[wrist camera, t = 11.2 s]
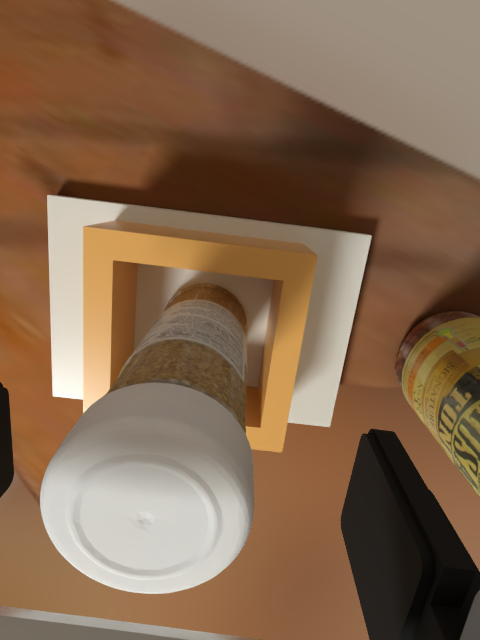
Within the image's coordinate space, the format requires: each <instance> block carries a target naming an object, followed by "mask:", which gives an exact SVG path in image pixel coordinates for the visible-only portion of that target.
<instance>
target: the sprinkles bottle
mask: <svg viewBox="0 0 480 640" xmlns="http://www.w3.org/2000/svg"><path fill="white" fill-rule="evenodd" d="M246 334H247V318H246V314H245V311H244V309H243V307H242V305H241V304H240V302H239V300H238V299H237V297H236V296H234V295H233V294H231V293H230V292H229V291H228V290H226V289H224V288H222V287H220V286H218V285H213V284H209V283H203V284H194V285H191V286H188V287H185V288H184V289H182V290H180V291H179V292H177V293H176V294H175V295H174V296H173V297H172V299H171V300H170V301H169V302H168V304H167V306H166V307H165V310H164V312H163V313H162V314H161V315H160V317H159V318H158V319H157V320H156V322H155V323H154V324H153V326H152V327H151V328H150V330H149V331H148V333H147V334H146V336H145V337H144V338H143V340H142V341H141V343H140V344H139V345H138V347H137V348H136V349H135V351H134V352H133V353H132V355H131V356H130V358H129V359H128V360H127V362H126V363H125V365H124V366H123V368H122V370H121V372H120V374H119V376H118V378H117V379H116V381H115V382H114V384H113V385H112V387H111V388H110V389H109V391H108V392H107V394H105V395H104V396H103V397H101V398H100V399H99V400H97V401H96V402H95V403H93V404H92V405H91V406H90V407H89V408H88V409H87V410H86V411H85V412H84V413H83V414H82V416H81V417H80V419H79V420H78V421H77V423H76V424H75V425H74V427H73V428H72V429H71V431H70V432H69V434H68V435H67V436H66V438H65V439H64V441H63V442H62V444H61V445H60V447H59V448H58V450H57V451H56V453H55V454H54V456H53V457H52V459H51V461H50V463H49V465H48V467H47V469H46V472H45V475H44V478H43V481H42V486H41V493H40V507H41V513H42V518H43V522H44V525H45V528H46V530H47V532H48V535H49V537H50V539H51V540H52V542H53V543H54V545H55V547H56V548H57V550H58V551H59V552H60V553H61V554H62V556H63V557H64V558H66V560H67V561H68V562H70V563H71V564H72V565H73V566H74V567H75V568H77V569H78V570H79V571H81V572H82V573H84V574H85V575H87V576H88V577H90V578H92V579H94V580H96V581H98V582H100V583H102V584H104V585H107V586H110V587H113V588H116V589H120V590H125V591H129V592H136V593H147V594H161V593H171V592H176V591H181V590H185V589H188V588H192V587H195V586H197V585H199V584H201V583H204V582H206V581H208V580H210V579H211V578H213V577H215V576H216V575H218V574H219V573H220V572H221V571H223V570H224V569H225V568H226V567H227V566H228V565H229V564H230V563H231V562H232V561H233V560H234V559H235V558H236V556H237V555H238V554H239V552H240V551H241V549H242V548H243V546H244V544H245V542H246V540H247V538H248V535H249V531H250V529H251V525H252V521H253V510H254V485H253V484H254V482H253V459H252V452H251V447H250V444H249V441H248V439H247V436H246V425H245V422H246V421H245V413H246V381H247V341H246Z"/></svg>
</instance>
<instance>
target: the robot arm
mask: <svg viewBox="0 0 480 640" xmlns="http://www.w3.org/2000/svg"><path fill="white" fill-rule="evenodd" d="M13 476H14V466H13V451H12V436H11V421H10V406H9V393H8V390H7V389H6V388H3V385H2V383H1V382H0V497H1V496H2V495H3V494H4V493H5V491H6V490H7V489H8V488H9V486H10V484H11V482H12V480H13ZM341 529H342V533H343V537H344V542H345V545H346V549H347V553H348V557H349V560H350V565H351V569H352V573H353V576H354V580H355V584H356V588H357V592H358V595H359V600H360V604H361V608H362V612H363V615H364V619H365V623H366V627H367V631H368V635H369V639H370V640H480V572H479V570H478V568H477V567H476V565H475V563H474V562H473V560H472V558H471V557H470V555H469V553H468V552H467V550H466V548H465V547H464V545H463V543H462V542H461V540H460V538H459V537H458V535H457V533H456V531H455V530H454V528H453V526H452V525H451V523H450V521H449V520H448V518H447V517H446V515H445V513H444V511H443V510H442V508H441V506H440V505H439V503H438V501H437V500H436V498H435V496H434V495H433V493H432V492H431V491H430V490H428V488H427V486H426V484H425V483H424V481H423V479H422V478H421V476H420V474H419V473H418V471H417V469H416V467H415V466H414V464H413V462H412V461H411V459H410V457H409V456H408V454H407V452H406V451H405V449H404V447H403V446H402V444H401V442H400V440H399V439H398V437H397V435H396V434H395V433H394V432H392V431H384V430H377V429H371V430H370V431H369V433H368V434H362V436H361V439H360V442H359V447H358V451H357V454H356V459H355V462H354V466H353V471H352V475H351V479H350V482H349V487H348V490H347V494H346V499H345V502H344V507H343V510H342V515H341ZM0 640H259V639H251V638H244V637H237V636H229V635H222V634H214V633H206V632H200V631H191V630H184V629H177V628H169V627H162V626H154V625H146V624H138V623H129V622H123V621H115V620H107V619H100V618H92V617H84V616H76V615H68V614H60V613H52V612H44V611H36V610H28V609H21V608H13V607H4V606H0Z"/></svg>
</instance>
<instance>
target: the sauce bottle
mask: <svg viewBox="0 0 480 640" xmlns="http://www.w3.org/2000/svg"><path fill="white" fill-rule="evenodd" d="M396 357H397V362H396V365H395V369H396V374H397V376H398V379H399V382H400V385H401V387H402V389H403V392H404V395H405V398H406V400H407V401H408V403H409V404H410V405H411V407H412V408H413V410H414V411H415V412H416V414H417V415H418V416H419V418H420V419H421V420H422V421H423V423H424V424H425V426H426V427H427V428H428V430H429V431H430V432H431V433H432V434H433V436H434V437H435V439H436V440H437V441H438V443H439V444H440V445H441V446H442V448H443V449H444V450H445V452H446V453H447V455H448V456H449V458H450V459H451V461H452V462H453V463H454V464H455V466H456V467H457V468H458V469H459V471H460V472H461V474H462V475H463V476H464V477H465V478H466V479H467V481H468V482H469V484H470V485H471V486H472V488H473V489H474V490H475V491H476V492H477V494H478V495H479V496H480V316H478V315H475V314H471V313H466V312H463V311H447V312H442V313H439V314H435V315H433V316H431V317H428V318H426V319H424V320H423V321H422V322H420V323H419V324H418V325H416V326H415V327H414V328H413V329H412V330H411V331H410V332H409V334H408V335H407V337H406V338H405V340H404V341H403V343H402V345H401V347H400V349H399V352H398V354H397V356H396Z"/></svg>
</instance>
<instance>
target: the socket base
mask: <svg viewBox="0 0 480 640" xmlns="http://www.w3.org/2000/svg"><path fill="white" fill-rule="evenodd" d="M47 207H48V243H49V279H50V314H51V350H52V386H53V396H55V397H64V398H73V399H82V400H83V413H84V412H85V411H86V410H87V409H88V408H89V407H90V406H91V405H92V404H93V403H95V402H96V401H97V400H99V399H100V398H101V397H103V396H104V395H105V394H107V392H108V391H109V389H110V388H111V387H112V385H113V384H114V382H115V381H116V379H117V378H118V376H119V374H120V372H121V370H122V368H123V366H124V365H125V363H126V362H127V360H128V359H129V358H130V356H131V355H132V353H133V352H134V351H135V349H136V348H137V347H138V345H139V344H140V343H141V341H142V340H143V338H144V337H145V336H146V334H147V333H148V331H149V330H150V328H151V327H152V326H153V324H154V323H155V322H156V320H157V319H158V318H159V317H160V315H161V314H162V313H163V312H164V310H165V307H166V306H167V304H168V302H169V301H170V300H171V299H172V297H173V296H174V295H175V294H176V293H177V292H179V291H180V290H182V289H184V288H185V287H188V286H191V285H194V284H203V283H209V284H213V285H218V286H220V287H222V288H224V289H226V290H228V291H229V292H230V293H231V294H233V295H234V296H236V297H237V299H238V300H239V302H240V304H241V305H242V307H243V309H244V311H245V314H246V318H247V334H246V341H247V381H246V413H245V421H246V422H245V425H246V436H247V439H248V441H249V444H250V447H251V449H255V450H264V451H274V452H282V450H283V445H284V438H285V433H286V428H287V422H289V423H298V424H307V425H316V426H325V427H330V424H331V419H332V415H333V410H334V405H335V401H336V396H337V392H338V387H339V383H340V378H341V374H342V369H343V365H344V360H345V356H346V351H347V346H348V342H349V337H350V333H351V328H352V324H353V319H354V315H355V310H356V305H357V301H358V296H359V292H360V287H361V283H362V278H363V274H364V269H365V265H366V260H367V255H368V251H369V246H370V242H371V237H372V236H371V235H368V234H363V233H356V232H348V231H340V230H332V229H324V228H316V227H308V226H300V225H292V224H284V223H276V222H268V221H260V220H252V219H244V218H236V217H228V216H220V215H212V214H204V213H196V212H188V211H180V210H172V209H164V208H156V207H148V206H140V205H132V204H124V203H116V202H108V201H100V200H92V199H84V198H76V197H68V196H61V195H47Z"/></svg>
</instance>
